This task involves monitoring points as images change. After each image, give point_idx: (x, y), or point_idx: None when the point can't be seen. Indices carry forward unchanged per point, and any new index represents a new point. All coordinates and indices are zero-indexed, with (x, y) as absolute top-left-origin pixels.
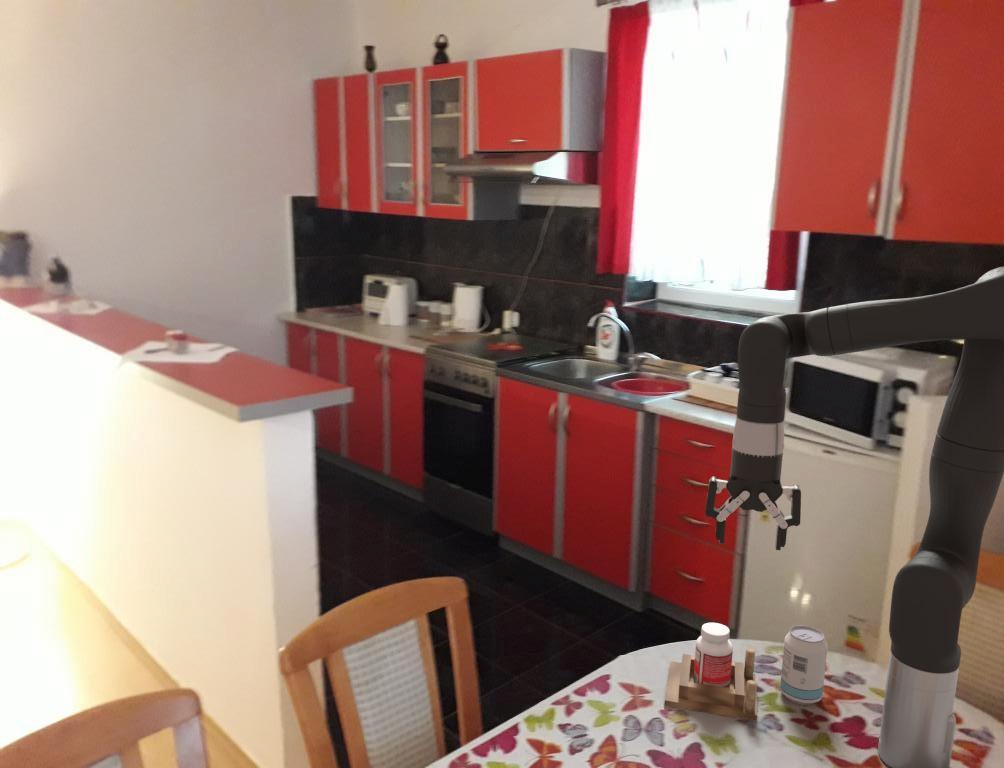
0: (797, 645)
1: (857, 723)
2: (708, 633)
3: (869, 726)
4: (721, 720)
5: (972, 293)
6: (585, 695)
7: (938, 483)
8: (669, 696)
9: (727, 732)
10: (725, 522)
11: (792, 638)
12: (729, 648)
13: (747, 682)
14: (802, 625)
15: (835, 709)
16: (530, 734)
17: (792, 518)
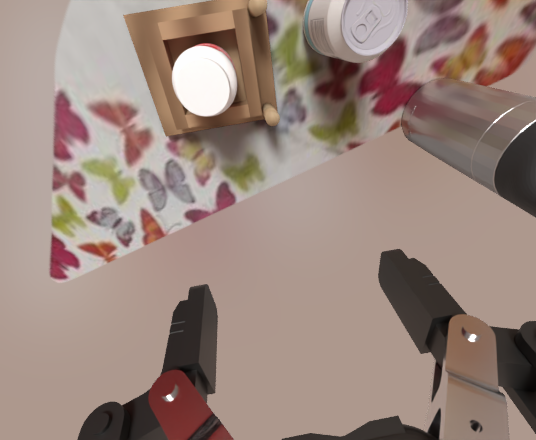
0: (349, 56)
1: (394, 60)
2: (196, 114)
3: (407, 60)
4: (238, 132)
5: None
6: (72, 157)
7: None
8: (167, 125)
9: (248, 152)
10: (212, 389)
11: (343, 42)
12: (233, 95)
13: (266, 121)
14: None
15: None
16: (75, 241)
17: (513, 399)
